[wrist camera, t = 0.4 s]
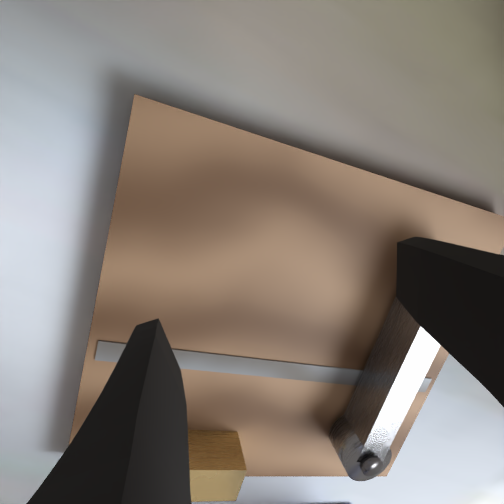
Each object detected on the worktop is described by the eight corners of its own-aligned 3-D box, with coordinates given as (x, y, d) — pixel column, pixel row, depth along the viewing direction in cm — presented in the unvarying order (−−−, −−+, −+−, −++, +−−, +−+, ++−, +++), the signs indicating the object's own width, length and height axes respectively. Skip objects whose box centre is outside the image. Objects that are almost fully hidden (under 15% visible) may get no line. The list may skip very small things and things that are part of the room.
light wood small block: (228, 459, 23) (235, 500, 20) (168, 458, 22) (169, 502, 19) (237, 431, 22) (246, 470, 20) (177, 429, 21) (178, 470, 19)
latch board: (376, 460, 29) (387, 477, 28) (69, 454, 22) (62, 477, 20) (496, 215, 23) (518, 221, 22) (137, 97, 16) (134, 94, 15)
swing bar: (359, 447, 25) (383, 486, 22) (322, 446, 24) (342, 487, 21) (451, 252, 21) (494, 270, 18) (411, 241, 20) (450, 258, 17)
